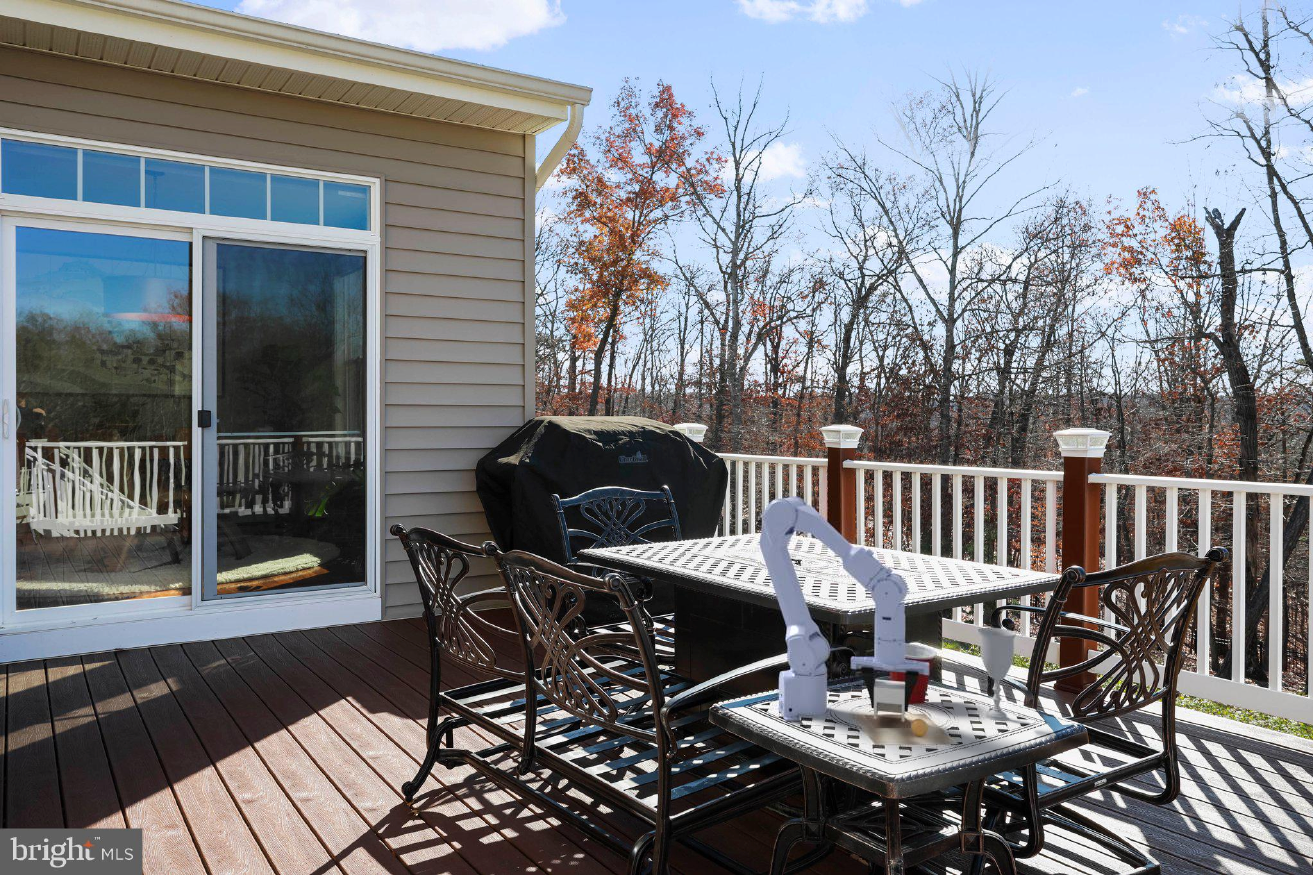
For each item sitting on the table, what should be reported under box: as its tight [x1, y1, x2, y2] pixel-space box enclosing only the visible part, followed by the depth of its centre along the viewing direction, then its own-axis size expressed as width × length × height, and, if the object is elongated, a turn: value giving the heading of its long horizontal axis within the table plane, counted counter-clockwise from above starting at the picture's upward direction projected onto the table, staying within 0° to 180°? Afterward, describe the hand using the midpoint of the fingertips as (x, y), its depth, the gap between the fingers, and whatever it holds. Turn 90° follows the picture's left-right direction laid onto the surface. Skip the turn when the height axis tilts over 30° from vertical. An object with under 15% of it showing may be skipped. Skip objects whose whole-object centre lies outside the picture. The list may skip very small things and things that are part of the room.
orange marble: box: [911, 719, 928, 736], centre depth 156 cm, size 3×3×3 cm
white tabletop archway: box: [873, 679, 906, 722], centre depth 164 cm, size 6×6×6 cm
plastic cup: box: [889, 642, 938, 705], centre depth 179 cm, size 11×11×12 cm
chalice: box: [977, 627, 1017, 722], centre depth 167 cm, size 7×7×18 cm
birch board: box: [849, 713, 959, 746], centre depth 160 cm, size 15×17×1 cm
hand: (889, 708), depth 164 cm, fingers closed on white tabletop archway, 5 cm apart
